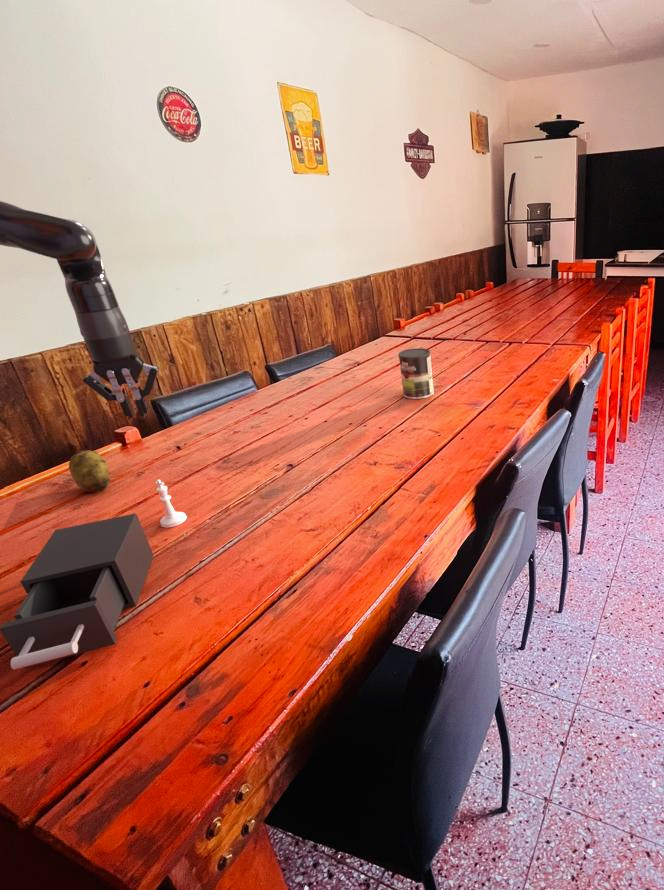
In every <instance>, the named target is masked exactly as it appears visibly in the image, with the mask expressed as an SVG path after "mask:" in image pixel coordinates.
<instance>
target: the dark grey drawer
mask: <svg viewBox="0 0 664 890" xmlns="http://www.w3.org/2000/svg"><path fill="white" fill-rule="evenodd" d="M125 601H126V595H125V593H124V591H123V589H122V587H121V585H120V583H119V581H118V579H117V576H116V574H115V572H114V570H113V568H112V566H111V565H110V566H106V567H101V568H97V569H93V570H88V571H84V572H80V573H75V574H71V575H66V576H62V577H58V578H53V579H49V580H45V581H40V582H36V583H35V584H34V585H33V587H32V588H31V590H30V592H29V593H28V594H26V596H25V598H24V600H23V601H22V603H21V604H20V606H19V607H18V609H17V610H16V612H15V613H14V615H13V617H14V618H15V619H13V620H9V621H5V622H3V623H2V624H1V625H0V632H1V635H2V636H3V637H4V639H5V640H6V642H7V643H8V644H9V647H10V648H11V650H12V651H13V652H14V654H15V656H13V657H12V658H11V659H10V668H11V669H12V670H19V669H23V668H24V669H29V668H32V667H33V668H34V667H36V666H39V665H40V666H41V665H43V664H47V663H51V662H55V661H58V660H62V659H67V658H69V657H73V656H76V655H81V654H84V653H89V652H92V651H95V650H100V649H103V648H107V647H110V646H113V645H116V643H117V640H118V638H117V636H116V634H115V629H116V627H117V624H118V621H119V619H120V617H121V613H122V611H123V609H122V608H123V606H124V603H125Z"/></svg>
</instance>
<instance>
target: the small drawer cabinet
mask: <svg viewBox="0 0 664 890" xmlns="http://www.w3.org/2000/svg"><path fill="white" fill-rule="evenodd" d="M153 559H154V553H153V550H152V548H151V545H150V542H149V541H148V538H147V536H146V533H145V531H144V528H143V526H142V524H141V522H140V519H139V517H138V514H137V513H131V514H127V515H121V516H116V517H111V518H106V519H102V520H97V521H92V522H87V523H83V524H77V525H73V526H72V525H71V526H68V527H63V528H58V529H55V530H54V531H53V533H52V534H51V536H50V537H49V538H48V540H47V541H46V543H45V544H44V546H43V548H42V549H41V550H40V552H39V554H38V555H37V556H36V557H35V559H34V561H33V562H32V564H31V565H30V566H29V568H28V569H27V571H26V573H25V574H24V575H23V577H22V579H21V580H20V584H21V586H22V587H23V589H24V591H25V593H26V595H28V593H29V592H30V590H31V588H32V587H33V585H34V584H35V583H36V582H40V581H45V580H49V579H53V578H58V577H62V576H66V575H71V574H75V573H80V572H84V571H88V570H93V569H97V568H101V567H106V566H110V565H111V566H112V568H113V570H114V572H115V574H116V576H117V579H118V581H119V583H120V585H121V587H122V589H123V591H124V593H125V595H126V601H125V603H124V606H123V608H122V610H126V609H130V608H134V607H137V605H138V602H139V599H140V596H141V593H142V591H143V587H144V585H145V581H146V579H147V576H148V574H149V571H150V567H151V564H152V561H153Z"/></svg>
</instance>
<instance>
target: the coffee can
mask: <svg viewBox="0 0 664 890" xmlns="http://www.w3.org/2000/svg"><path fill="white" fill-rule="evenodd" d="M397 356H398V359H399V367H400V375H401V383H402V392H403V397H404V398H405V399H408V400H423V399H428V398H429V397H432V396H434V394H435V391H434V382H433V381H434V380H433V379H434V378H433V371H432V358H431V350H429V349H427V348H421V347H419V348H407V349H404V350H401V351H400V352H399V353H398V355H397Z"/></svg>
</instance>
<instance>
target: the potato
mask: <svg viewBox="0 0 664 890" xmlns="http://www.w3.org/2000/svg"><path fill="white" fill-rule="evenodd" d="M68 470H69V473H70V475H71V477H72V479H73V480H74V483H75V484H76V486H77V487H79V489H80V490H82V491H84V492H88V493H99V492H103V491H104V490H106V489H107V488H108V487H109V486H110V484H111V477H110V474H111V473H110V469H109V466H108V463H107V461H106V459H105V458H104V457H102V455H100V453H98V452H97V450H89V449H85V450H80V451H78V452H76V453H74V454H73V455H72V456H71V457H70V459H69V463H68Z"/></svg>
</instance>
